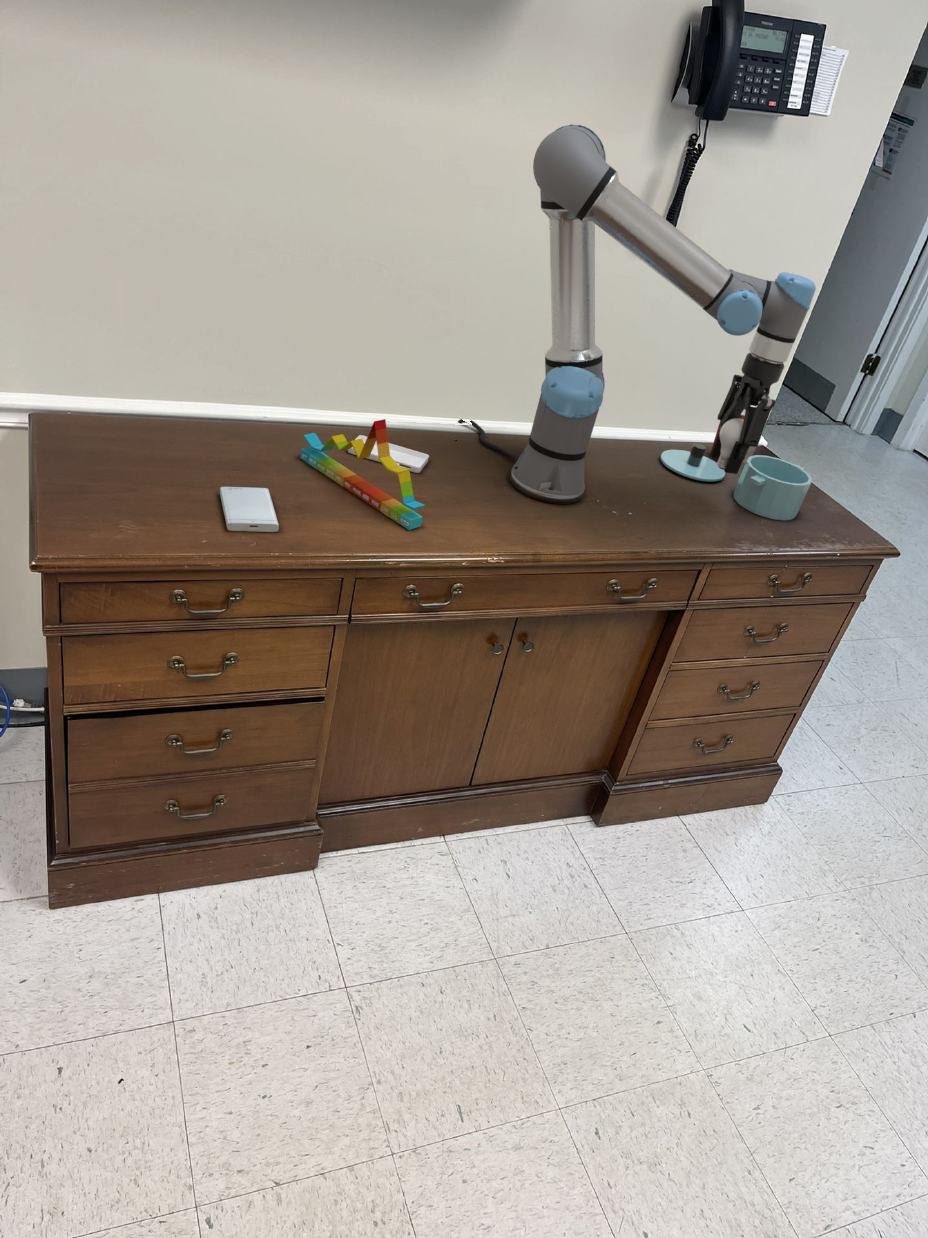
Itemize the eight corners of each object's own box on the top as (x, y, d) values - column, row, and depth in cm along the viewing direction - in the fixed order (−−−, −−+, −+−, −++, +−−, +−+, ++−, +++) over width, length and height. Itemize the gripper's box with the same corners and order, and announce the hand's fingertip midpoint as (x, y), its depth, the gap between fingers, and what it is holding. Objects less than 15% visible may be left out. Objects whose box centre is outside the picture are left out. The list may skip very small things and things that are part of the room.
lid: (646, 459, 211) (654, 436, 208) (684, 450, 221) (692, 428, 218) (699, 488, 203) (708, 465, 200) (735, 478, 212) (744, 455, 209)
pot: (714, 497, 200) (728, 461, 196) (760, 483, 213) (774, 449, 208) (768, 527, 192) (784, 491, 188) (813, 511, 205) (829, 477, 200)
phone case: (428, 460, 186) (359, 440, 187) (429, 454, 185) (360, 434, 186) (418, 474, 179) (346, 452, 181) (419, 467, 179) (347, 446, 180)
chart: (298, 458, 174) (307, 383, 166) (312, 455, 177) (321, 381, 168) (407, 530, 159) (422, 451, 151) (420, 526, 162) (436, 448, 153)
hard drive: (220, 486, 156) (227, 522, 146) (268, 487, 159) (279, 523, 149) (219, 494, 157) (227, 531, 147) (268, 496, 160) (278, 532, 150)
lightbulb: (704, 468, 189) (724, 418, 183) (709, 458, 194) (728, 410, 188) (734, 478, 188) (755, 429, 182) (738, 469, 193) (758, 420, 187)
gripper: (807, 378, 172) (760, 488, 184) (760, 343, 187) (719, 446, 199) (773, 373, 169) (727, 484, 182) (728, 337, 185) (688, 442, 197)
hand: (723, 464), depth 191 cm, fingers closed on lightbulb, 6 cm apart
